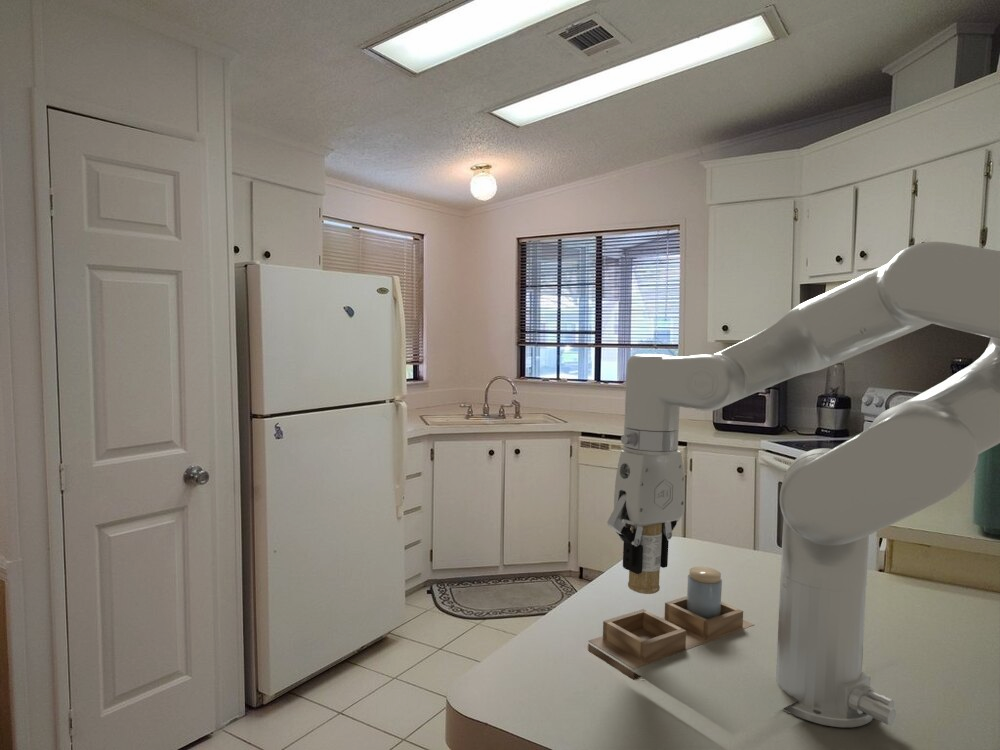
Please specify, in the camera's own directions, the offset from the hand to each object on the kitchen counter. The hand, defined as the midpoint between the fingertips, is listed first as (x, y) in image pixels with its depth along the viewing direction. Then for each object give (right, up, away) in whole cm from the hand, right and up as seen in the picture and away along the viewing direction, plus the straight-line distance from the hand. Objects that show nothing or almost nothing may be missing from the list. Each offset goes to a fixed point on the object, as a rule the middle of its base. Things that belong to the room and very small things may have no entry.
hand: (645, 566), depth 87 cm
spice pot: (+11, -11, +7) cm, 17 cm away
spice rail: (+5, -13, +4) cm, 14 cm away
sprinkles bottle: (0, -4, 0) cm, 4 cm away
